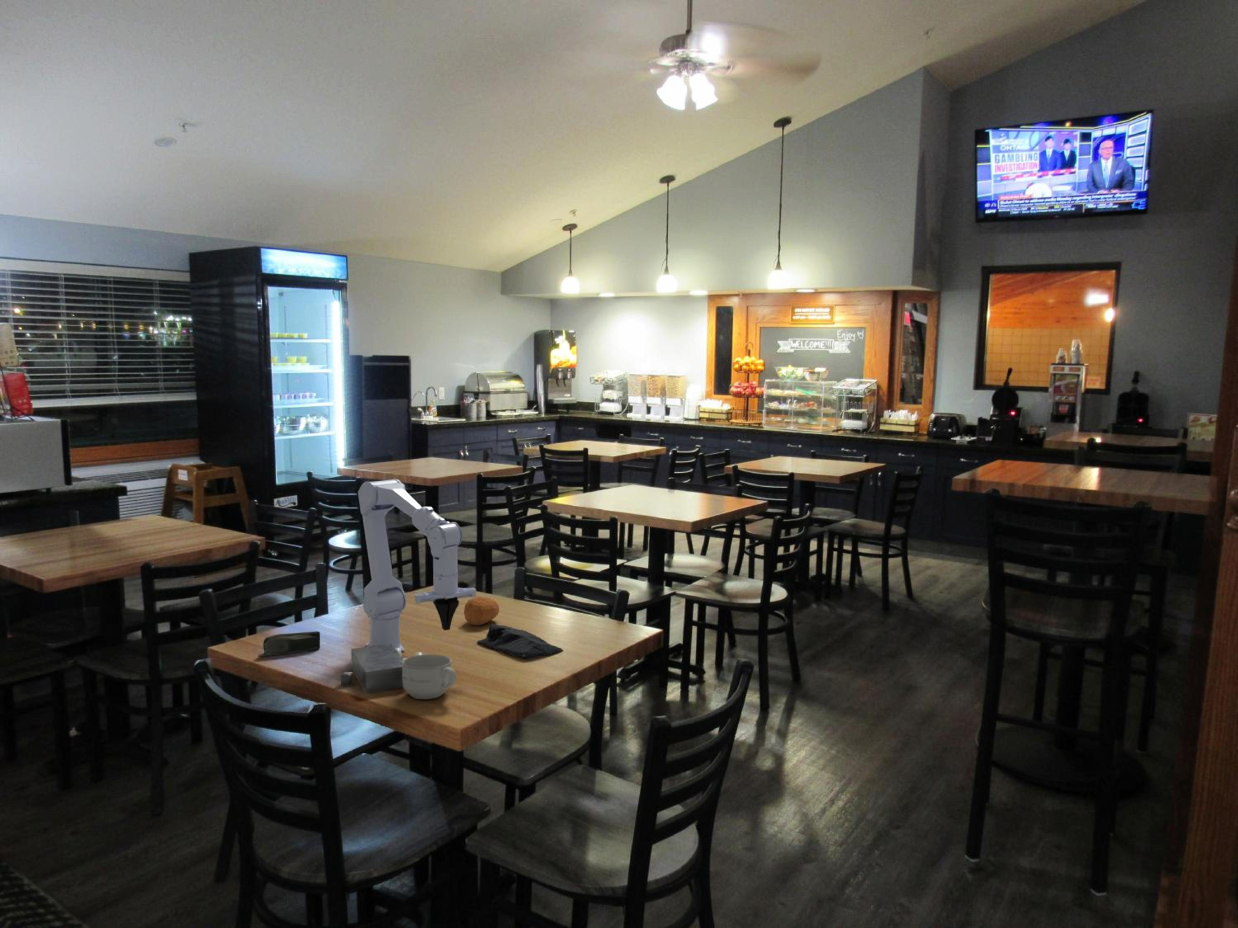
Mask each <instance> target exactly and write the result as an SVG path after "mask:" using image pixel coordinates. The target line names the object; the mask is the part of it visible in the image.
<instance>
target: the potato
mask: <svg viewBox="0 0 1238 928" xmlns="http://www.w3.org/2000/svg"><path fill="white" fill-rule="evenodd" d="M499 612H500V606H499V604H498V603H497V601H496V600H494V599H492V598H490V597H484V596H479V595H478V596H476V597H471V599H468V600H467V601H466V602H465V605H464V609H463V615H464V619H465V621H466V622H467V623H469V624H471V625H472V626H481V625H483V624H486V623H488V622H490V621H492V620H493V619H495V618H496V617H497V616H498V614H499Z"/></svg>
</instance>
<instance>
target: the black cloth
mask: <svg viewBox="0 0 1238 928" xmlns="http://www.w3.org/2000/svg"><path fill="white" fill-rule="evenodd" d="M488 626H489V627H488V632H487V634H486V637H485V638H483V639H479V640H477V643H478V644H479V645H483V646H485V647H487V648H489V649H492V650H495V651H500V652H502V653H505V654H507V655H511V656H514V657H516V658H517V657H518V658H523V659H526V658H527V659H528V658H533V657H534V658H535V657H538V656H539V657H540V656H548V655H555V654H559V653H561V652H563V651H564V650H563V649H562V648H561V647H558V646H556V645H553V644H550V643H548V642H547V641H546V640H545V639H542V638H541V637H539V636H537V635H536V634H534V633H531V632H529V631H527V630H523V629H519V628H514V627H512V626H507V625H503V624H495V623H493V624H492V623H491V624H489V625H488Z"/></svg>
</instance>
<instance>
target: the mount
mask: <svg viewBox="0 0 1238 928" xmlns="http://www.w3.org/2000/svg"><path fill="white" fill-rule="evenodd" d="M350 652H351V653H350V655H351V670H352V672H353V674H354V675H355V676H356V679H357V680H358V682H359V683H360V685H361V687H362V689H363V690H364V692H365V693H366V694H371V693H376V692H377V693H378V692H384V691H390V690H396V689H402V688H403V689H404V687H403V680H402V661H403V660H404V659H403V656H402V657H401V655H400V654H399V653H398V652H397V650H396V649H395V648H394V647H393V645H392V644H384V645H377V646H369V647H367V646H362V647H355V648H351V651H350Z"/></svg>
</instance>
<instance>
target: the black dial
mask: <svg viewBox="0 0 1238 928" xmlns="http://www.w3.org/2000/svg"><path fill="white" fill-rule="evenodd" d="M339 676H340V686H341V687H351V686H352V685H354V672H353V671H344V672H342V673H340V675H339Z"/></svg>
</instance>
